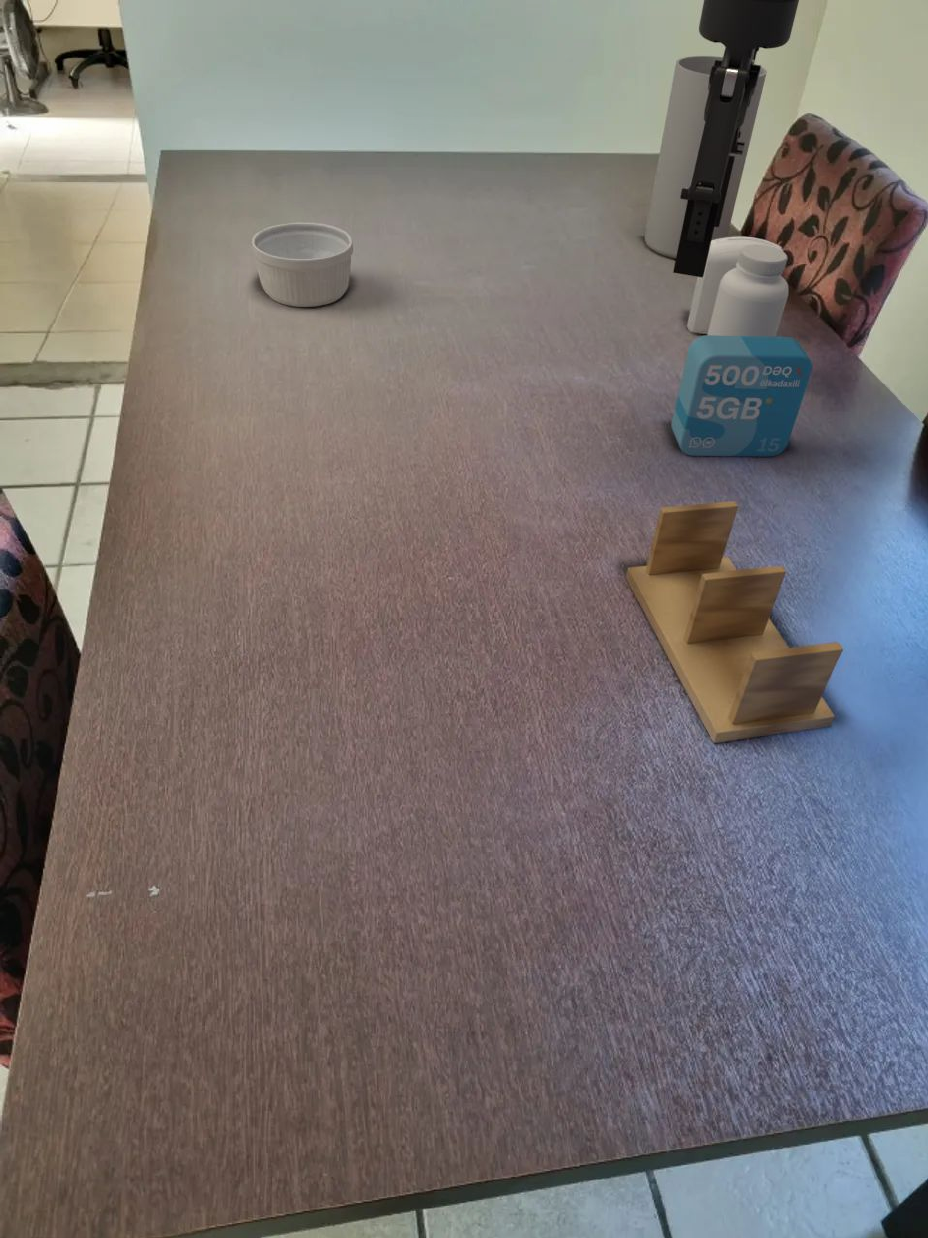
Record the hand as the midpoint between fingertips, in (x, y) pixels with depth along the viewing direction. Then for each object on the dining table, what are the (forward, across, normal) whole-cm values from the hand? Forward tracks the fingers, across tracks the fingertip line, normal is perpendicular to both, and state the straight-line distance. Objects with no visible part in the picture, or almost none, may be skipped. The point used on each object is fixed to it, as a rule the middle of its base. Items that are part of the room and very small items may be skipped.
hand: (697, 247), depth 90 cm
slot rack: (+21, +32, +10) cm, 39 cm away
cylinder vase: (+21, -59, -5) cm, 63 cm away
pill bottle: (+21, -19, +6) cm, 30 cm away
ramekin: (+21, -20, -51) cm, 59 cm away
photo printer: (+21, -31, +4) cm, 38 cm away
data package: (+21, -2, +8) cm, 23 cm away
